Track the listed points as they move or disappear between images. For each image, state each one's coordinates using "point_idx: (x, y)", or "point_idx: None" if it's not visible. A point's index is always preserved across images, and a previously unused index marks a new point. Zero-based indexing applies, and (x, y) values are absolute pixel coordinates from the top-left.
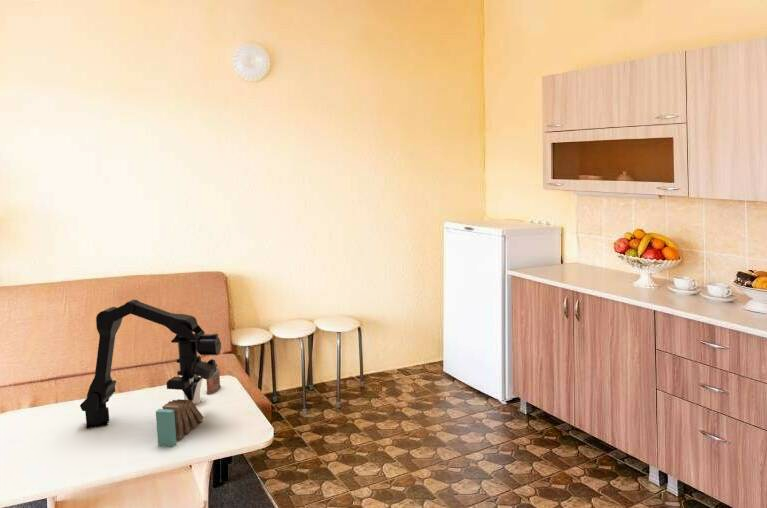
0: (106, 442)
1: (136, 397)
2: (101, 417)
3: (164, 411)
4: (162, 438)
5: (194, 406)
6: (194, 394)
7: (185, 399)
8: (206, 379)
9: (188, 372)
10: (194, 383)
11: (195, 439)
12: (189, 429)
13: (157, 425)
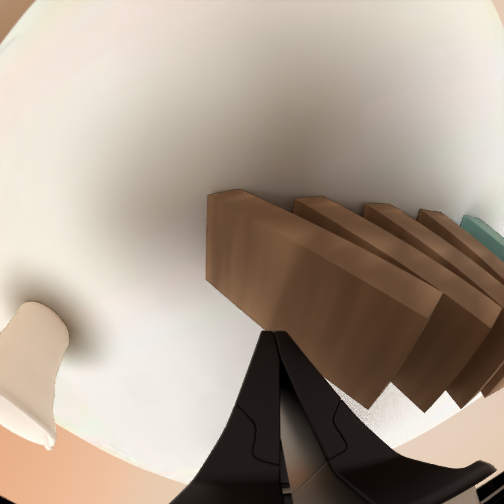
0: (385, 397)
1: (103, 435)
2: (282, 460)
3: None
4: None
5: (353, 266)
6: (250, 365)
7: (63, 356)
8: None
9: None
10: (473, 485)
11: (441, 146)
12: (380, 208)
13: None
